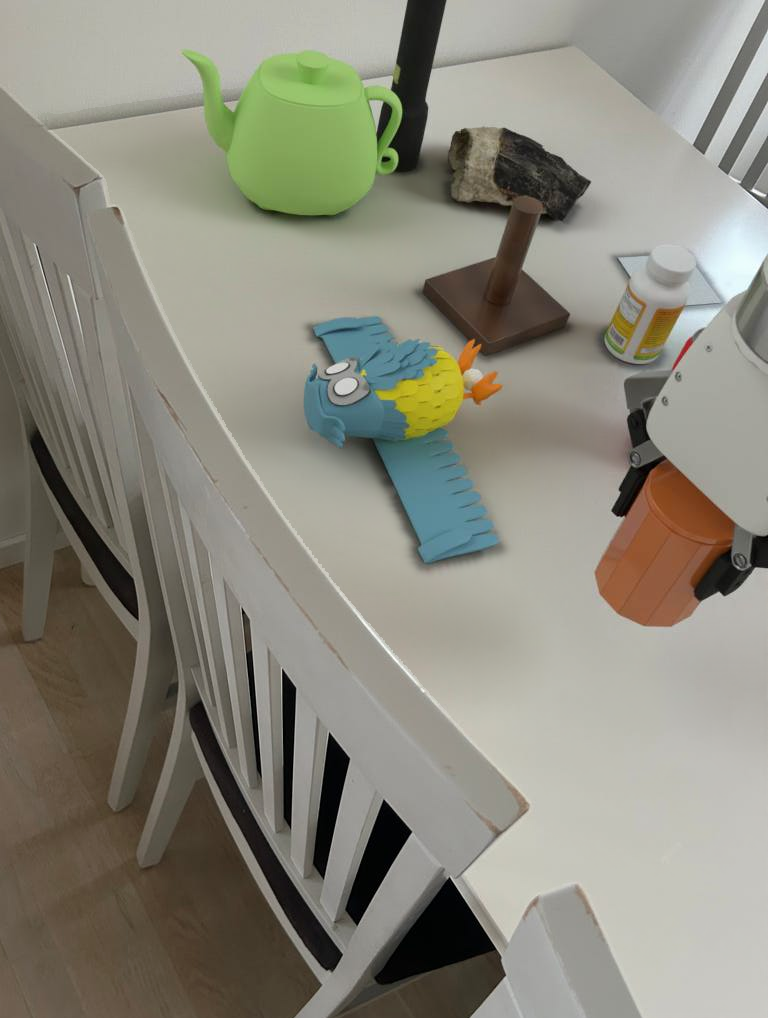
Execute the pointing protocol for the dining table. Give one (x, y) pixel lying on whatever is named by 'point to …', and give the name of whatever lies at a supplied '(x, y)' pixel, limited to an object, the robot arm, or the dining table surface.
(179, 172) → the dining table surface
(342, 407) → the owl figurine
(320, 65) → the teapot
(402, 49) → the flashlight
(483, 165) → the mineral specimen
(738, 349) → the robot arm
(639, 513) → the cup
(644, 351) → the supplement bottle
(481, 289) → the cup stand
